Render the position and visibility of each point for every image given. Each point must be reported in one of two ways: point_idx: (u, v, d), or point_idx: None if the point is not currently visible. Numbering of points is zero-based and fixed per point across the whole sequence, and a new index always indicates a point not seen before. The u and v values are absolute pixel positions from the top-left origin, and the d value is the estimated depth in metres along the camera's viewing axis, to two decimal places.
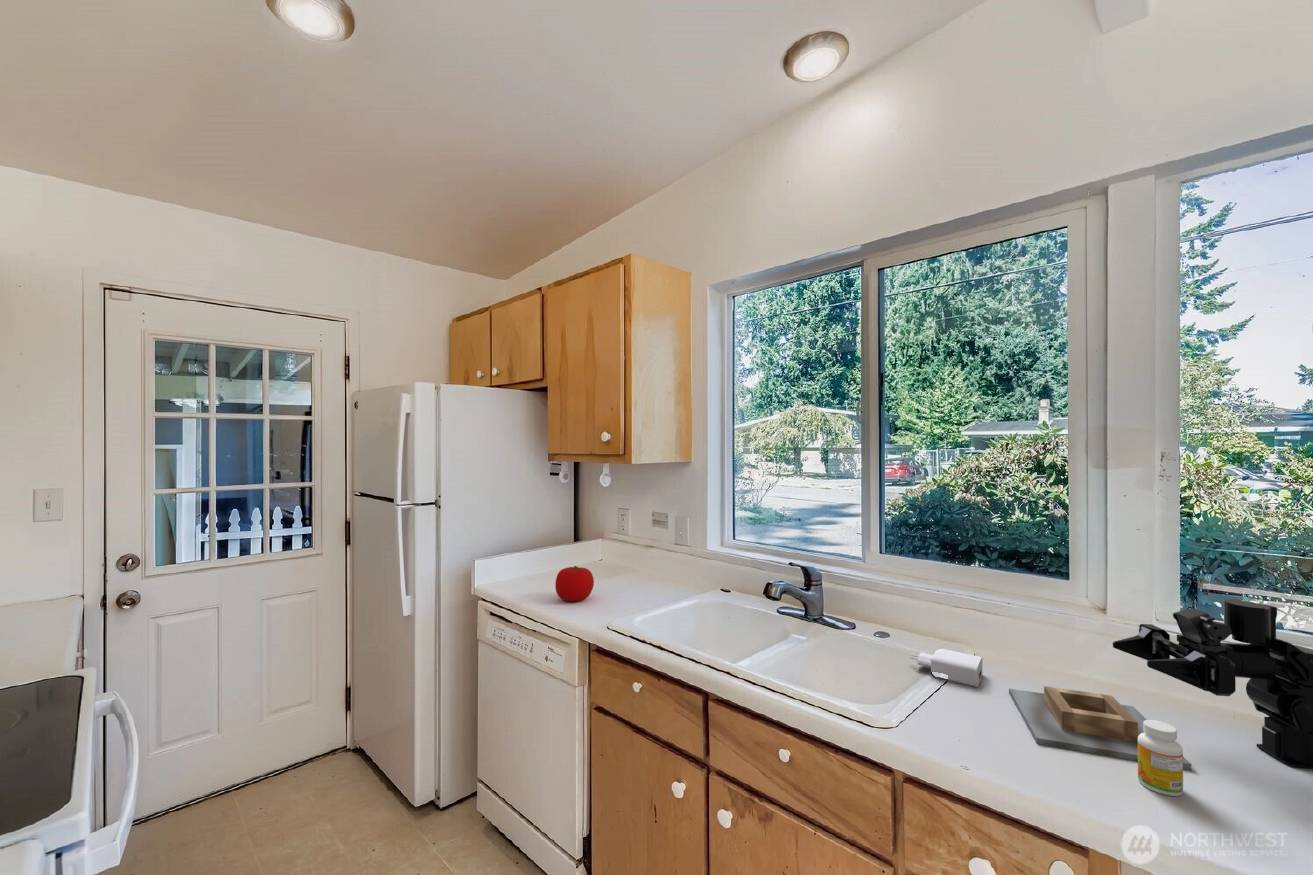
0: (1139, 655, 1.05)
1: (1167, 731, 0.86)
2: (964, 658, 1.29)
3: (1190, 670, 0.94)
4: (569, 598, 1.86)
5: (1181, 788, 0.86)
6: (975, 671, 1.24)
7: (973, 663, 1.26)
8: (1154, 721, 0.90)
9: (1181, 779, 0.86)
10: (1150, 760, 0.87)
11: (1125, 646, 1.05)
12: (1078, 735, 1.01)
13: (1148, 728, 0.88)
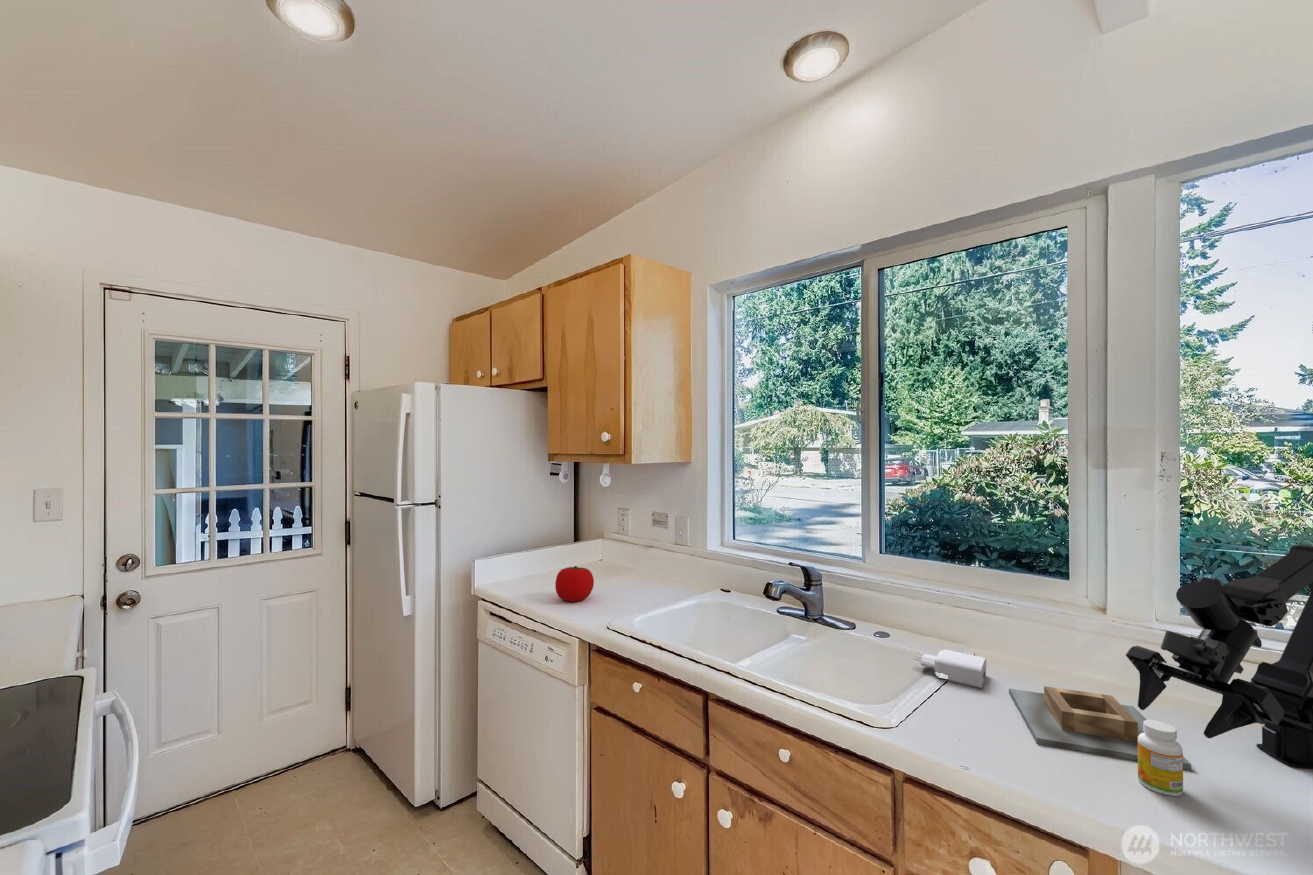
0: (1158, 693, 0.95)
1: (1167, 731, 0.86)
2: (968, 659, 1.28)
3: (1235, 711, 0.85)
4: (569, 598, 1.86)
5: (1181, 788, 0.86)
6: (979, 672, 1.23)
7: (977, 664, 1.26)
8: (1154, 721, 0.90)
9: (1181, 779, 0.86)
10: (1150, 760, 0.87)
11: (1147, 700, 0.94)
12: (1078, 735, 1.01)
13: (1148, 728, 0.88)
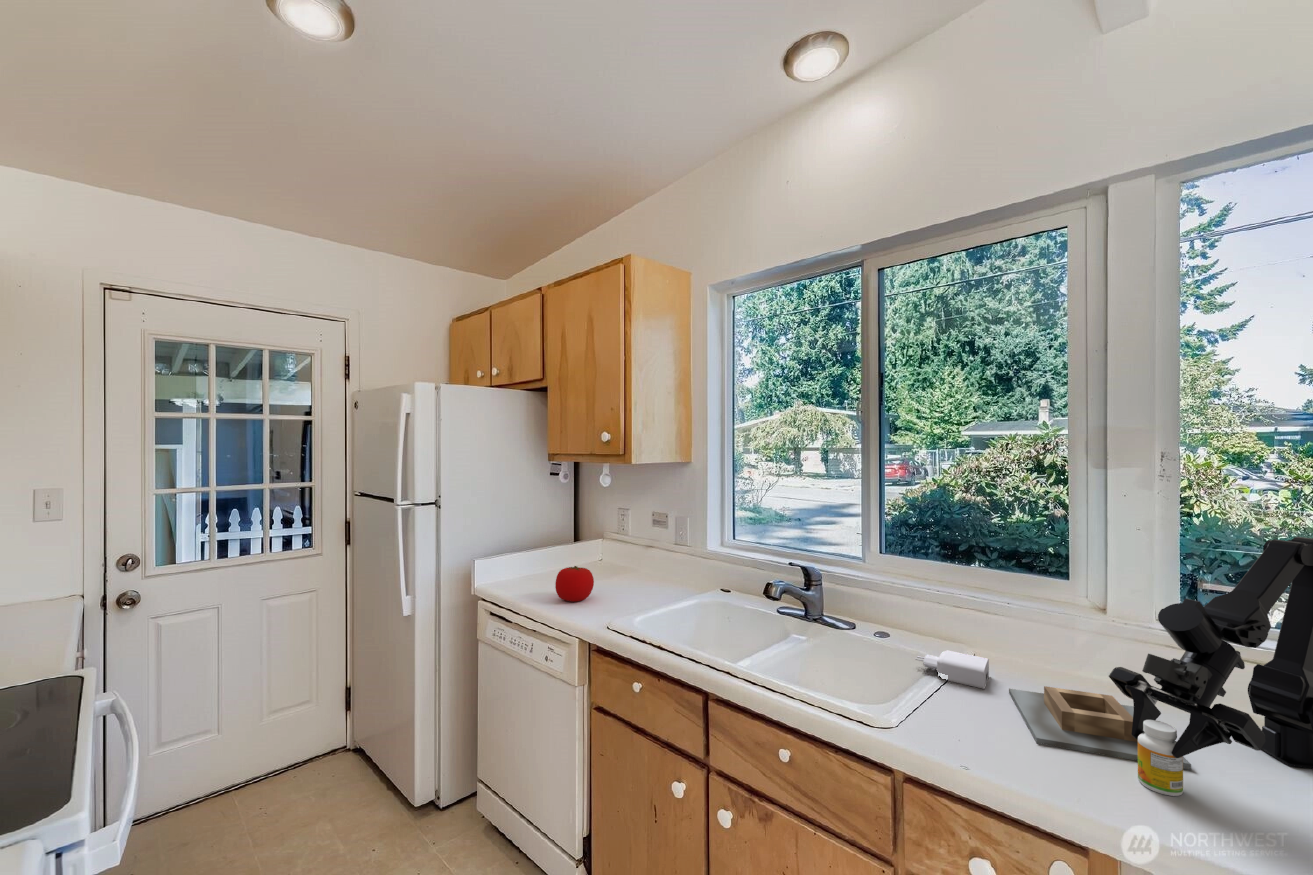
0: None
1: (1167, 731, 0.86)
2: (970, 660, 1.28)
3: (1202, 731, 0.85)
4: (569, 598, 1.86)
5: (1181, 788, 0.86)
6: (982, 673, 1.23)
7: (980, 665, 1.25)
8: (1154, 721, 0.90)
9: (1181, 779, 0.86)
10: (1150, 760, 0.87)
11: (1141, 728, 0.91)
12: (1078, 735, 1.01)
13: (1148, 728, 0.88)
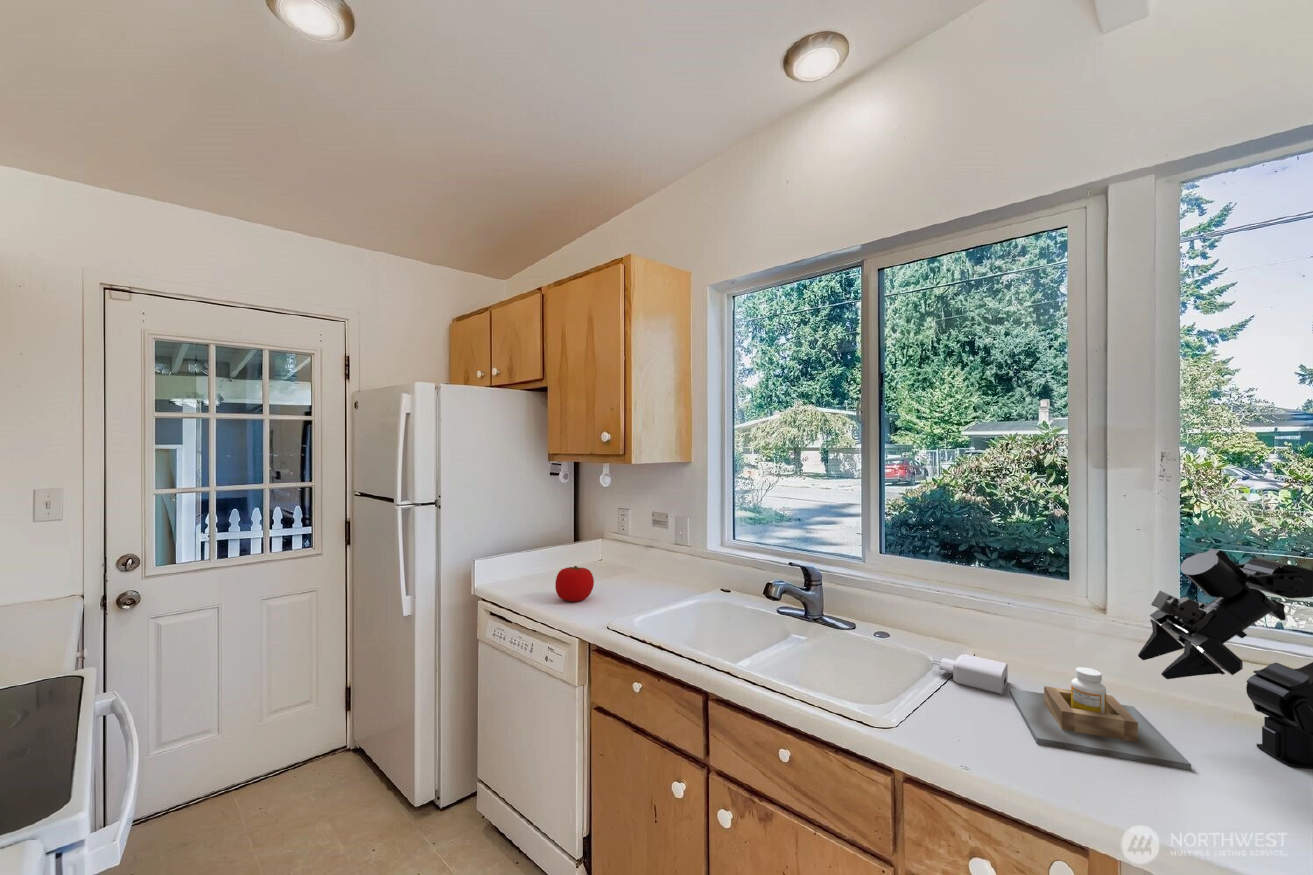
0: (1169, 650, 1.05)
1: (1086, 673, 1.06)
2: (988, 665, 1.25)
3: (1198, 661, 0.95)
4: (569, 598, 1.86)
5: None
6: (999, 678, 1.20)
7: (997, 669, 1.23)
8: (1090, 669, 1.08)
9: None
10: (1072, 695, 1.08)
11: (1150, 652, 1.06)
12: (1078, 735, 1.01)
13: None
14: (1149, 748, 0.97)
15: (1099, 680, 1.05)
